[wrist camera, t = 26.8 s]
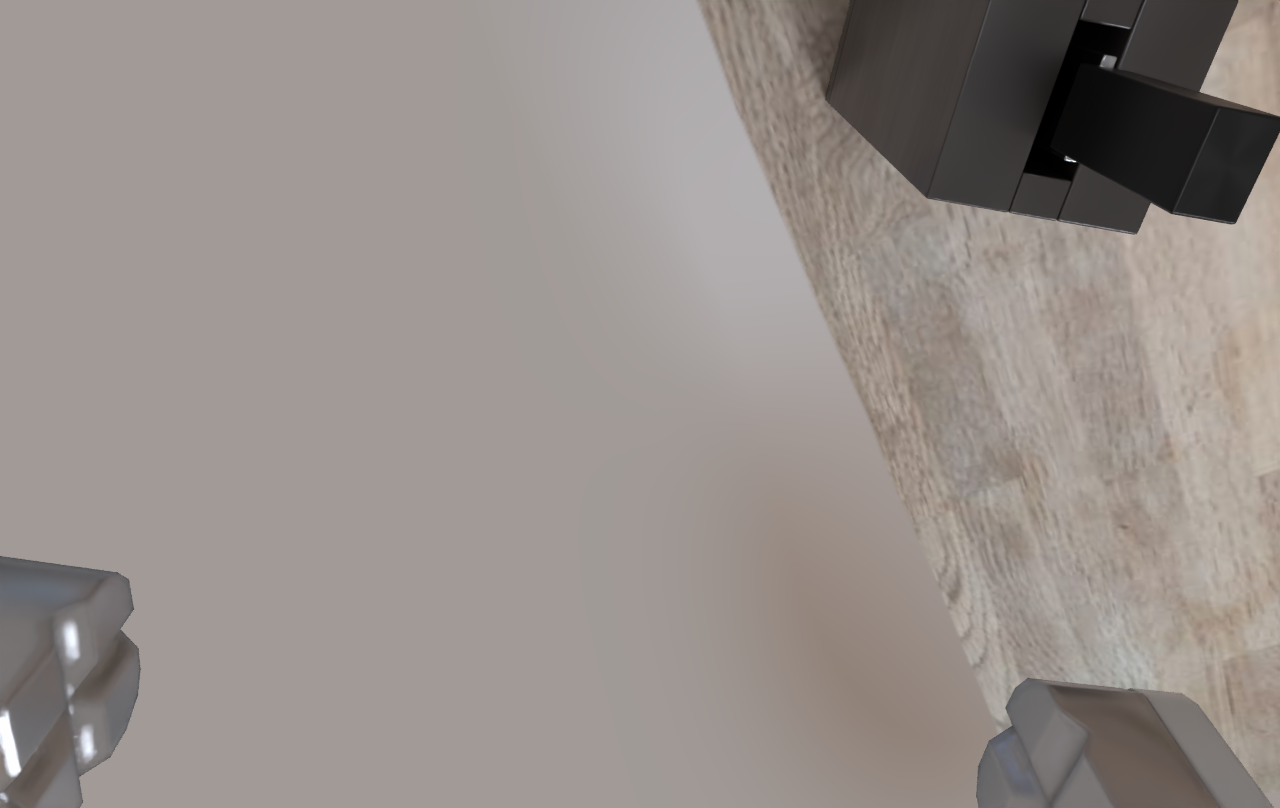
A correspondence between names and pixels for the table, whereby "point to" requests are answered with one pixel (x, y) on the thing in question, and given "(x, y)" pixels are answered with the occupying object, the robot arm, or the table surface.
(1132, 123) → the knife
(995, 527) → the table surface
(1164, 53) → the knife block
